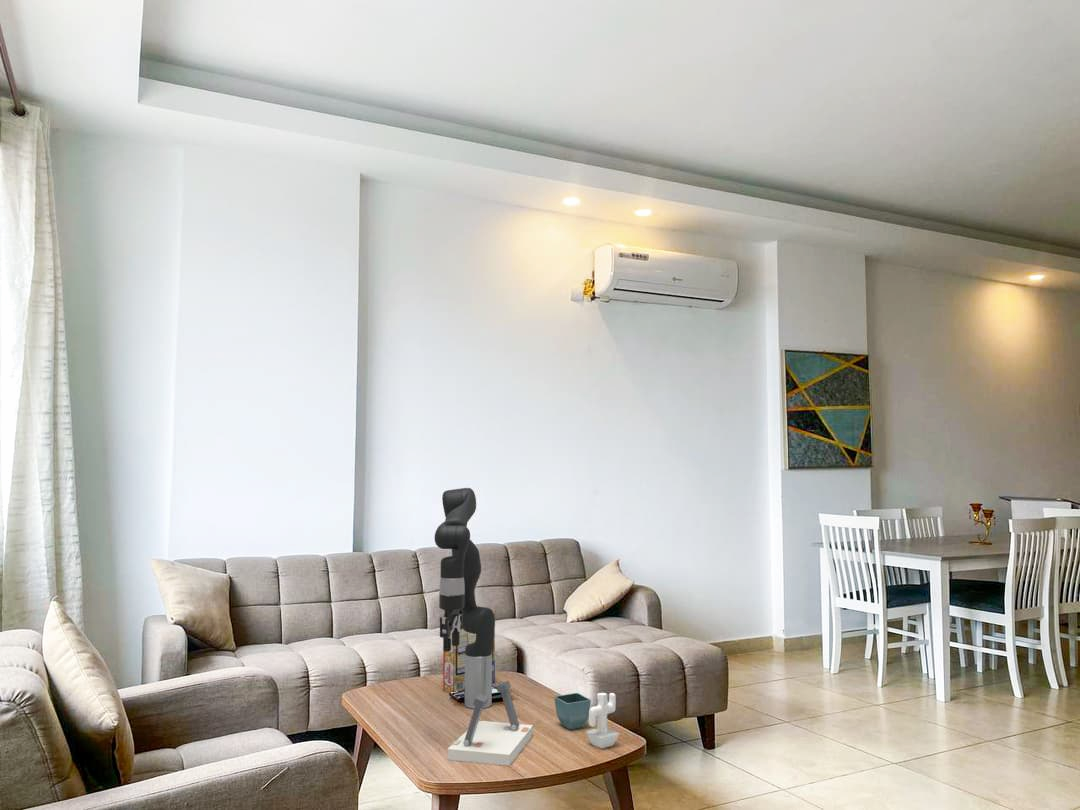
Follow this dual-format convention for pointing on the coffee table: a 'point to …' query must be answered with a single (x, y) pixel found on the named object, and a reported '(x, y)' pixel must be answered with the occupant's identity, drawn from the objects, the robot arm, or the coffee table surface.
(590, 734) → the figurine
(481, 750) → the switch base
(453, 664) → the board game box
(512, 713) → the lever
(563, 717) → the flower pot
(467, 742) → the lever
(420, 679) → the coffee table surface
